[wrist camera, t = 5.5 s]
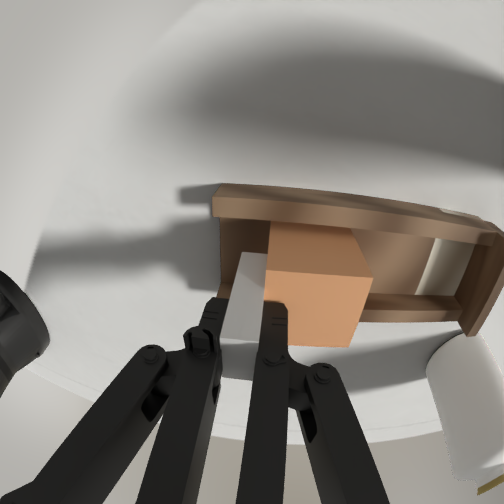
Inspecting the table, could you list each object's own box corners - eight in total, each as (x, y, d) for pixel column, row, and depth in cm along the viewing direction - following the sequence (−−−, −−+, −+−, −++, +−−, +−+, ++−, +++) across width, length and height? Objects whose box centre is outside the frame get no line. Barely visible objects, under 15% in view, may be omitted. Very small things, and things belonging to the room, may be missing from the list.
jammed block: (266, 280, 20) (260, 342, 15) (271, 217, 17) (266, 270, 12) (334, 285, 19) (348, 347, 14) (348, 224, 17) (373, 278, 12)
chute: (223, 288, 22) (210, 331, 18) (222, 183, 18) (202, 209, 13) (454, 300, 20) (475, 336, 16) (486, 218, 16) (520, 246, 12)
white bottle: (485, 316, 21) (547, 451, 5) (476, 357, 24) (517, 471, 9) (423, 346, 23) (466, 502, 8) (422, 382, 27) (450, 507, 11)
